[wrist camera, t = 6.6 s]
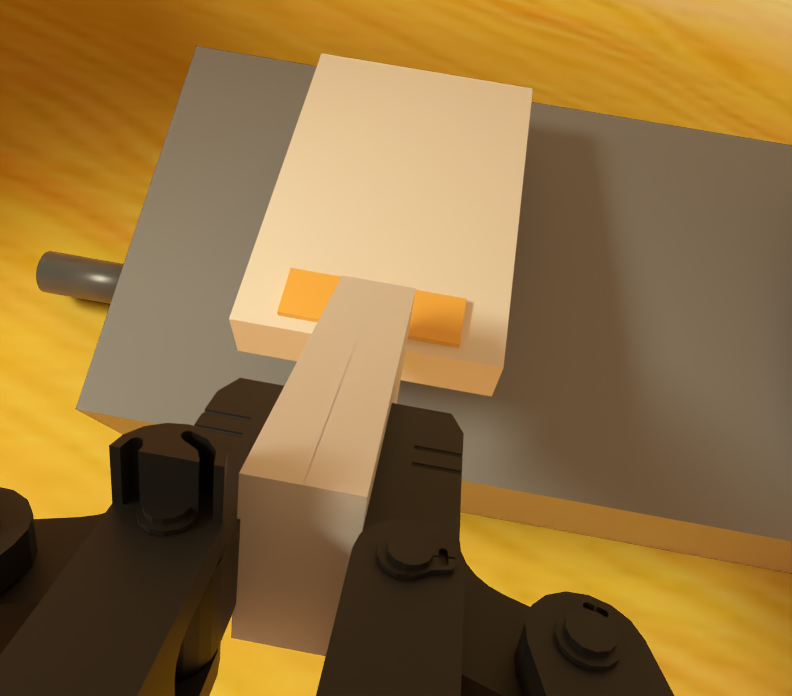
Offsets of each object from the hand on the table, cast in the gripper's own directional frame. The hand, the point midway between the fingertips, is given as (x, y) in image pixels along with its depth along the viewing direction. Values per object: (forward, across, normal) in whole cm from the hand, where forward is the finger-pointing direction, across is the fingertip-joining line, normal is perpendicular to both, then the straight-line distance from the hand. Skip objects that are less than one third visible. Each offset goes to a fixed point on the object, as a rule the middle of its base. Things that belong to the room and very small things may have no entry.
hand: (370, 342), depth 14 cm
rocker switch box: (+12, +4, -6) cm, 14 cm away
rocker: (+5, 0, +1) cm, 5 cm away
